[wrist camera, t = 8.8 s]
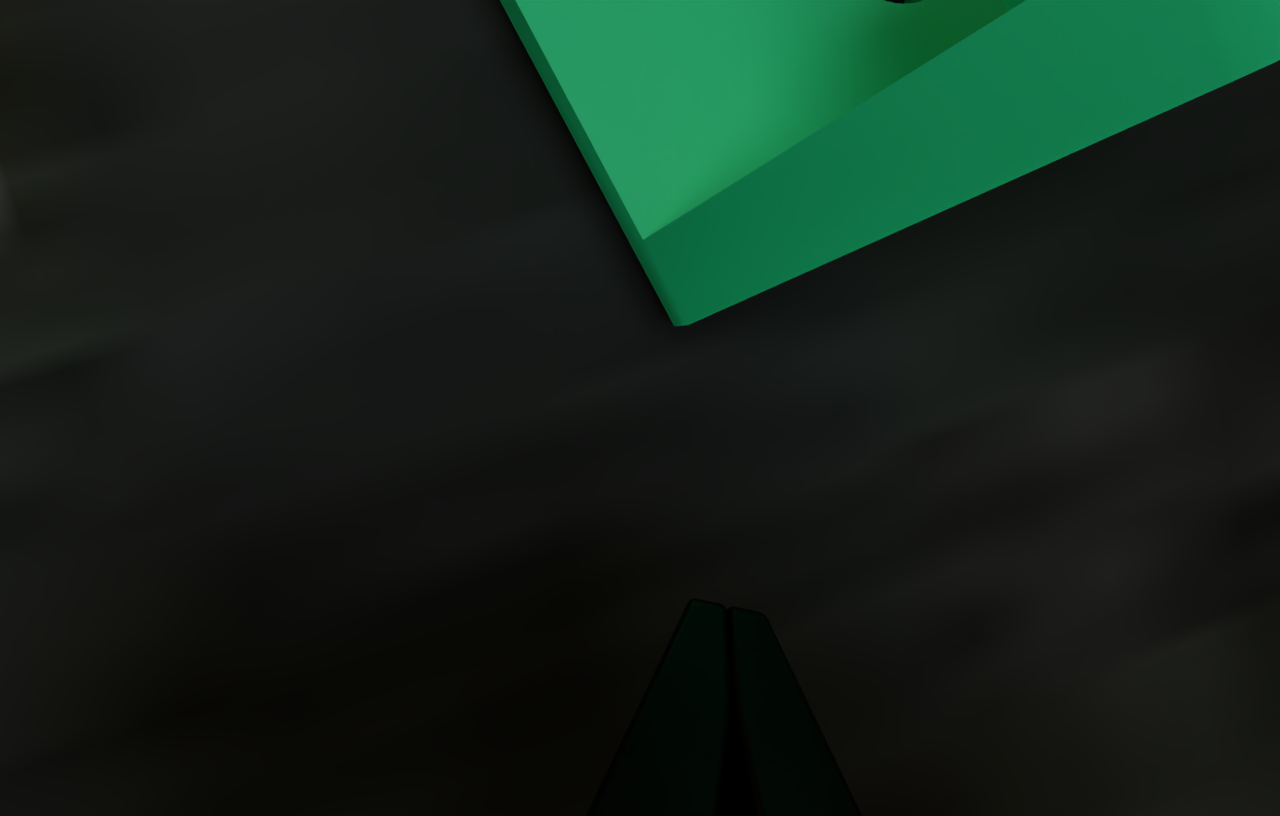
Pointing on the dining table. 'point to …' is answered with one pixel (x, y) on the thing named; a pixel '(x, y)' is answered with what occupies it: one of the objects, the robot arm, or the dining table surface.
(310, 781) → the dining table surface
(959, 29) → the camera mount
